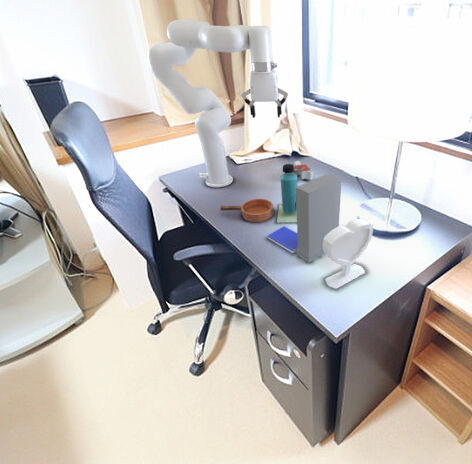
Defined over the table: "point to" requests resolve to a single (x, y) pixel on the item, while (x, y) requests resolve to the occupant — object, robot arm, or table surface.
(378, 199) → the table surface
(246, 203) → the pan
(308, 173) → the tape dispenser
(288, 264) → the table surface
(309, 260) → the tall grey upright box
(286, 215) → the cloth
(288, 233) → the hard drive
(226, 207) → the pan handle
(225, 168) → the robot arm
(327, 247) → the heart sculpture
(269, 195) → the table surface
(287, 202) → the beverage bottle
